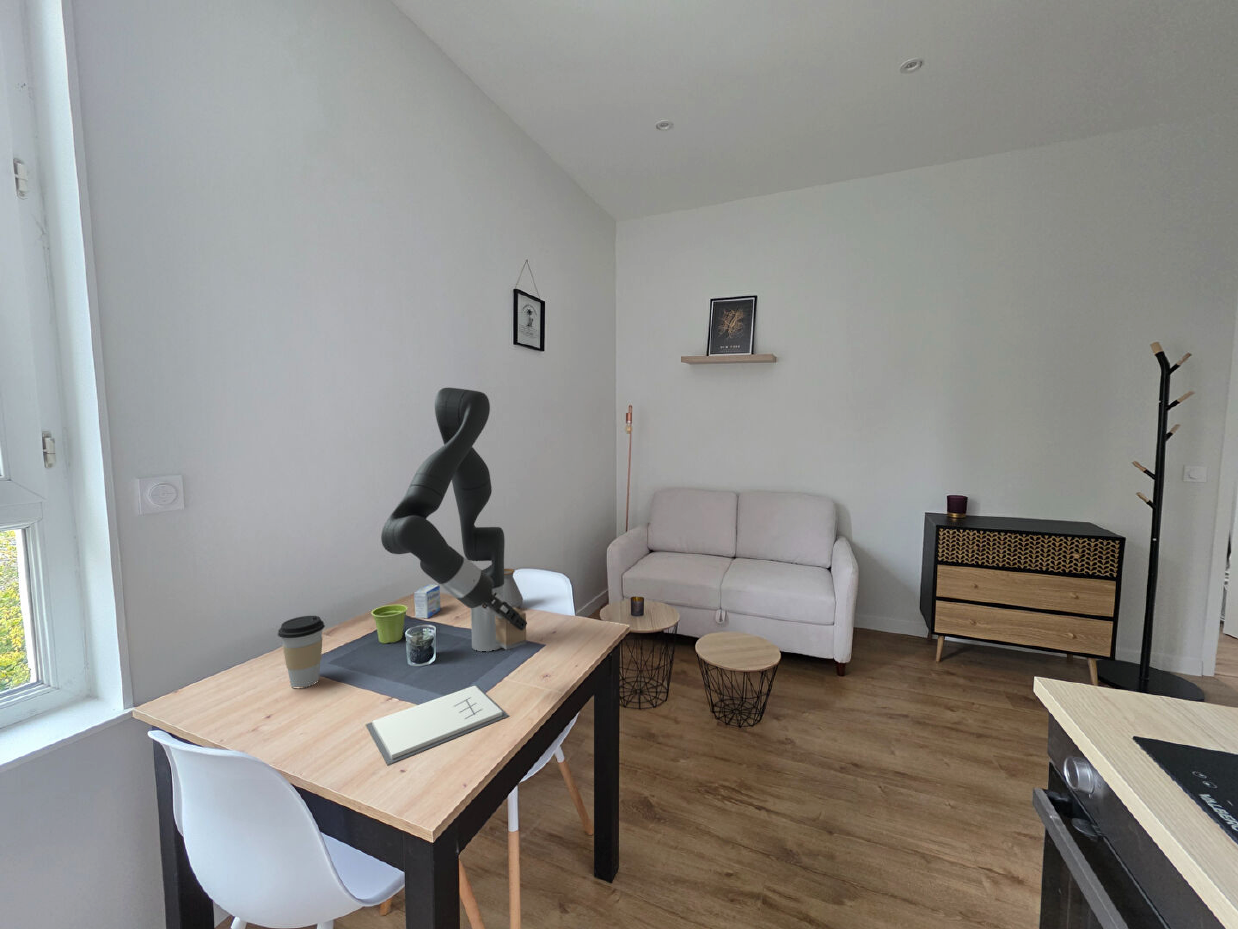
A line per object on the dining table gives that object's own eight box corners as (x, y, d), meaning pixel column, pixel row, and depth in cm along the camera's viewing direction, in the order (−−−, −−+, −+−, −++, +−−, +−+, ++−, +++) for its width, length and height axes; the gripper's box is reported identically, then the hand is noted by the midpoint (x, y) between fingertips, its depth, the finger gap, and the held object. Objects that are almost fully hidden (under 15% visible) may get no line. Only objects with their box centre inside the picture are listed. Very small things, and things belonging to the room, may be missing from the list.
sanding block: (495, 642, 114) (495, 612, 114) (515, 636, 118) (515, 607, 117) (506, 650, 110) (505, 618, 110) (526, 643, 114) (525, 613, 113)
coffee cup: (336, 677, 123) (333, 617, 122) (297, 696, 114) (293, 632, 113) (311, 670, 127) (307, 612, 126) (271, 687, 118) (268, 625, 117)
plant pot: (391, 630, 151) (390, 602, 151) (415, 635, 148) (414, 606, 147) (365, 643, 143) (363, 613, 142) (390, 648, 139) (388, 618, 138)
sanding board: (365, 725, 103) (365, 720, 103) (477, 686, 118) (477, 682, 118) (387, 765, 91) (387, 760, 91) (508, 716, 106) (508, 711, 106)
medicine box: (427, 619, 160) (426, 592, 160) (414, 618, 161) (413, 591, 161) (441, 610, 168) (440, 585, 167) (428, 609, 169) (428, 584, 168)
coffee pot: (507, 600, 177) (506, 558, 176) (530, 607, 170) (529, 563, 169) (455, 619, 160) (454, 572, 159) (478, 627, 153) (476, 579, 152)
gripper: (492, 574, 102) (544, 617, 111) (464, 560, 113) (513, 601, 122) (468, 605, 99) (523, 648, 108) (441, 588, 110) (493, 628, 119)
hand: (517, 622), depth 115 cm, fingers closed on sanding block, 5 cm apart
